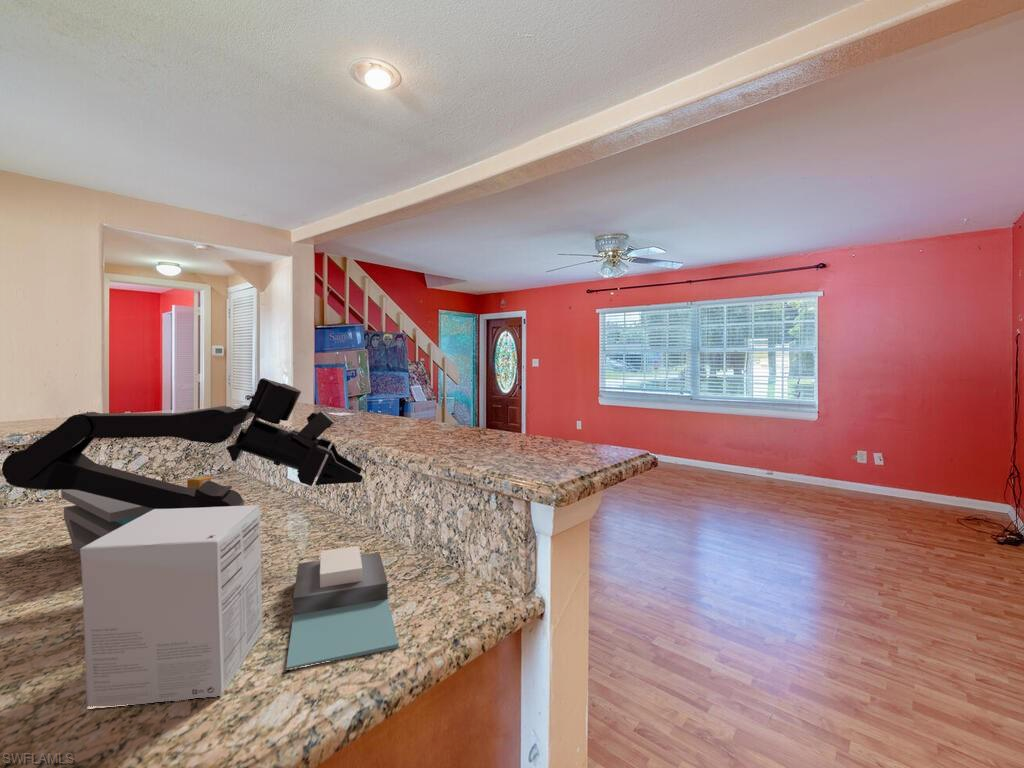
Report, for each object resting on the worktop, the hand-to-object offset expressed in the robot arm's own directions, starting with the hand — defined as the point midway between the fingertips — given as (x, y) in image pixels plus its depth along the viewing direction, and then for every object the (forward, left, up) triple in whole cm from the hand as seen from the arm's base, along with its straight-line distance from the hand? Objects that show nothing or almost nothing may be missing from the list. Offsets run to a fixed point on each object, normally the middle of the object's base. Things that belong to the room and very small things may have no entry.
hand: (361, 475), depth 87 cm
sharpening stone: (-44, +18, -15) cm, 50 cm away
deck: (-4, -13, -15) cm, 21 cm away
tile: (-4, -13, -11) cm, 17 cm away
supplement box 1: (-22, -26, -15) cm, 37 cm away
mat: (-4, -25, -15) cm, 30 cm away
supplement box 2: (-33, +32, -15) cm, 48 cm away
